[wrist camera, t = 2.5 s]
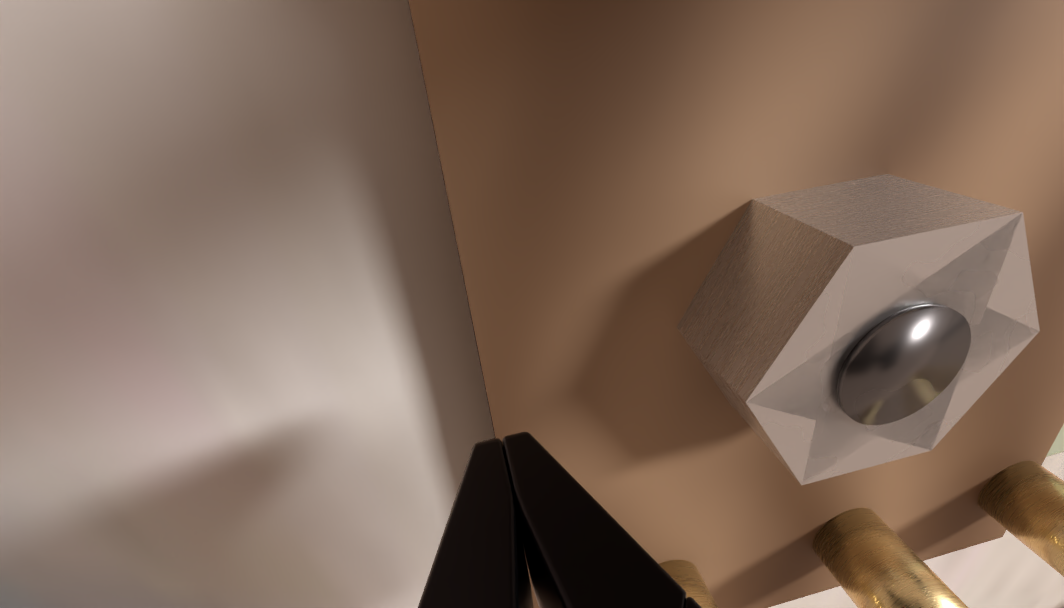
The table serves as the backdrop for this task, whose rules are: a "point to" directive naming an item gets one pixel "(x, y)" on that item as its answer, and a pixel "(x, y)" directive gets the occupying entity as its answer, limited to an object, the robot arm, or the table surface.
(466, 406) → the table surface
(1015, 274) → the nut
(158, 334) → the table surface
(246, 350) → the table surface
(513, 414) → the board
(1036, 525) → the spacers
